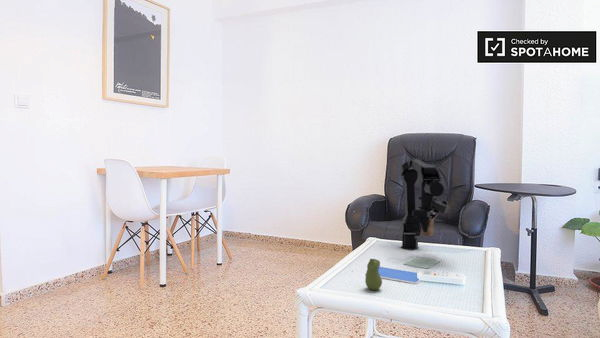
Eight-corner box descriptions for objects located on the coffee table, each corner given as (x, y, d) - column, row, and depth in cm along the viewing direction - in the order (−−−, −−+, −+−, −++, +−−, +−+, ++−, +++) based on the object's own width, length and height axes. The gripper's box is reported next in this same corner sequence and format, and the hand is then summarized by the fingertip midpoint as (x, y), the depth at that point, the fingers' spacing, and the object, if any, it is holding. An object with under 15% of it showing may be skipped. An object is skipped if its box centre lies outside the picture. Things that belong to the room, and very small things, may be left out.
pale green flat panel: (403, 264, 161) (403, 263, 161) (416, 257, 172) (416, 257, 172) (427, 268, 155) (427, 268, 155) (439, 261, 166) (439, 260, 166)
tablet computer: (426, 277, 146) (426, 273, 146) (417, 286, 135) (417, 282, 135) (376, 269, 156) (376, 265, 156) (364, 277, 145) (364, 273, 145)
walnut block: (421, 235, 166) (421, 218, 166) (424, 233, 170) (424, 217, 170) (430, 236, 164) (430, 219, 164) (433, 234, 167) (433, 218, 167)
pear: (368, 285, 134) (368, 256, 134) (383, 288, 132) (384, 258, 131) (363, 290, 129) (363, 260, 129) (379, 293, 127) (380, 262, 126)
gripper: (439, 197, 154) (439, 236, 154) (453, 194, 169) (453, 230, 169) (412, 195, 161) (411, 233, 161) (428, 193, 176) (427, 228, 176)
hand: (427, 231), depth 167 cm, fingers closed on walnut block, 4 cm apart
